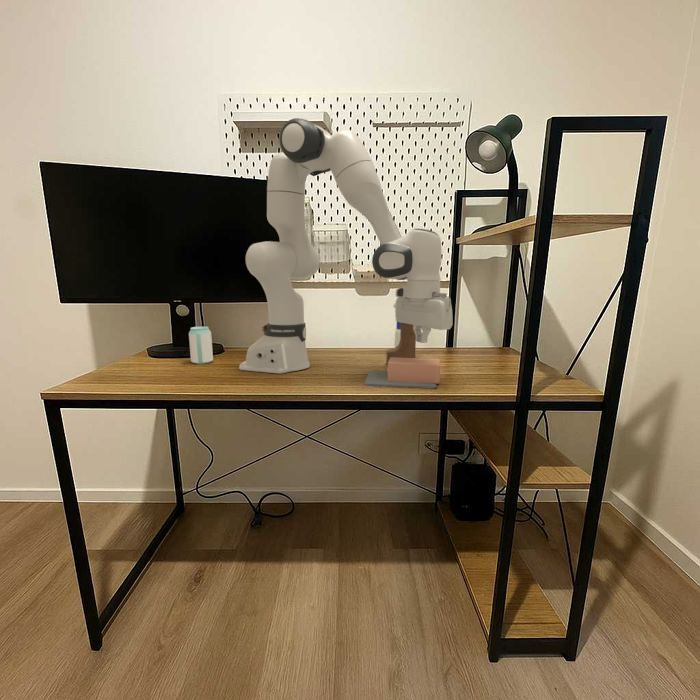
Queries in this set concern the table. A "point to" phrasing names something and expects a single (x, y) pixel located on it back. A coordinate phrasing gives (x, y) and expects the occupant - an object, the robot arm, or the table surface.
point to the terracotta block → (414, 370)
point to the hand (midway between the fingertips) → (421, 342)
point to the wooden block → (404, 343)
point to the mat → (382, 380)
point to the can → (200, 345)
